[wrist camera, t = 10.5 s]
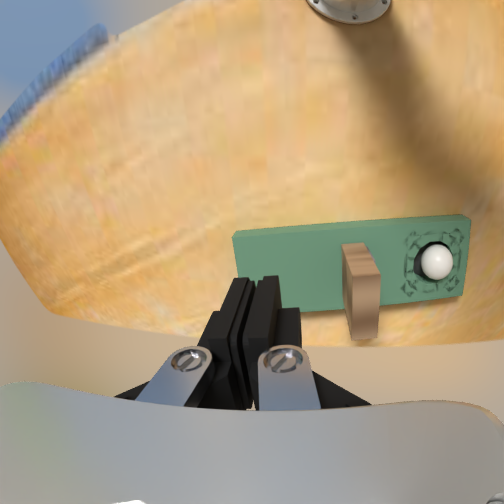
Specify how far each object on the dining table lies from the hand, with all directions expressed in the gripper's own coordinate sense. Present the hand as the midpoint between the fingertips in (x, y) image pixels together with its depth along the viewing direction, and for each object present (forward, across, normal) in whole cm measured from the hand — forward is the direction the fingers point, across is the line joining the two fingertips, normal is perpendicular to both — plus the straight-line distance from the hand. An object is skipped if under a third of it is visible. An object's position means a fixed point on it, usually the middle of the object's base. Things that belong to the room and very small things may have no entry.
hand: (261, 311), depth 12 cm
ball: (+29, -21, +12) cm, 38 cm away
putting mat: (+32, -9, +12) cm, 35 cm away
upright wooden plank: (+29, -8, +12) cm, 32 cm away
